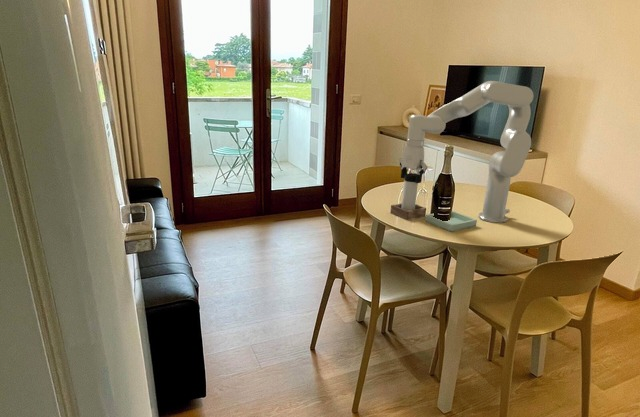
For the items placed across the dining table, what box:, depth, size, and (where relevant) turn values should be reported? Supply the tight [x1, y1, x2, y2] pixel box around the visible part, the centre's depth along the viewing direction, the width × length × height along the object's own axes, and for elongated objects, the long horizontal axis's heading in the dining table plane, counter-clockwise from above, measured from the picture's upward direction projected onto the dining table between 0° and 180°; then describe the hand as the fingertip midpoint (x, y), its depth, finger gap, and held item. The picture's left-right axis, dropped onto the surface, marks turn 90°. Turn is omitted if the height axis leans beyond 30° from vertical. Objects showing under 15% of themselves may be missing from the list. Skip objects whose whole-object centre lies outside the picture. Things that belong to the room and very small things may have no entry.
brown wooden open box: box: [390, 202, 427, 221], centre depth 198 cm, size 12×11×4 cm
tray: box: [425, 210, 478, 233], centre depth 189 cm, size 16×15×3 cm
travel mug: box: [401, 172, 419, 211], centre depth 196 cm, size 6×7×20 cm
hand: (410, 180), depth 194 cm, fingers open, 9 cm apart
